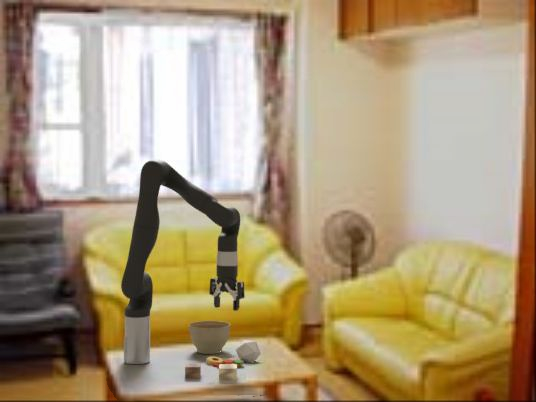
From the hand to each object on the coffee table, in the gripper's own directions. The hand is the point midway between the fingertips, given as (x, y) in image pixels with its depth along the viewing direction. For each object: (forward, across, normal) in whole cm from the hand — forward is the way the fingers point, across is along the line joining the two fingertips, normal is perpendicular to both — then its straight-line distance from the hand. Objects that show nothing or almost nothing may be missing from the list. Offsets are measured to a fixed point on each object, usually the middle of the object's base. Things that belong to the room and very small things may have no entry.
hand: (226, 308), depth 303 cm
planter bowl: (+22, -23, +18) cm, 36 cm away
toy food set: (+22, -2, +3) cm, 23 cm away
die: (+22, -1, +14) cm, 26 cm away
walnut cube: (+22, 0, -17) cm, 28 cm away
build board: (+22, +10, -11) cm, 27 cm away
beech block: (+21, +10, -11) cm, 26 cm away
